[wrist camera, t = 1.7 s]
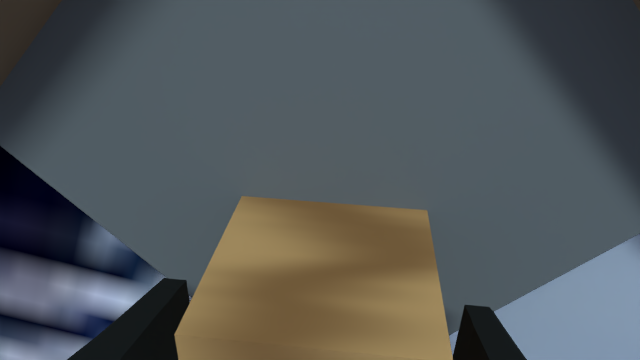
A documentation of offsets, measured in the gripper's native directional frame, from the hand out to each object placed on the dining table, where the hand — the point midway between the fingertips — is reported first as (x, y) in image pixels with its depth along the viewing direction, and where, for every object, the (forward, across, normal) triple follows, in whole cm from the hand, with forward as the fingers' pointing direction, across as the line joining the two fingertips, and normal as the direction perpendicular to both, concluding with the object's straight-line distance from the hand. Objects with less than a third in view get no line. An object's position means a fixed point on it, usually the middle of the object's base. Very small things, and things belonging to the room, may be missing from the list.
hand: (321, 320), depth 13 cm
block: (+2, 0, 0) cm, 2 cm away
